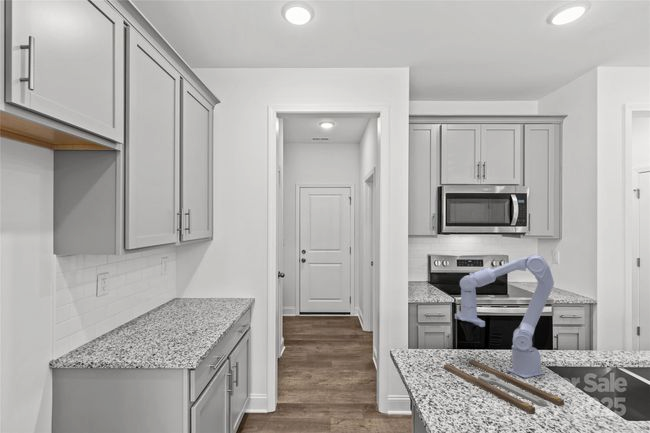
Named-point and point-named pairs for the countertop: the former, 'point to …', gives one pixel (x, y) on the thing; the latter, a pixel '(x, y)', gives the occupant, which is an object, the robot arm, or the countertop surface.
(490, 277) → the robot arm
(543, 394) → the guide channel
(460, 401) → the countertop surface
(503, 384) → the adjustable wrench
